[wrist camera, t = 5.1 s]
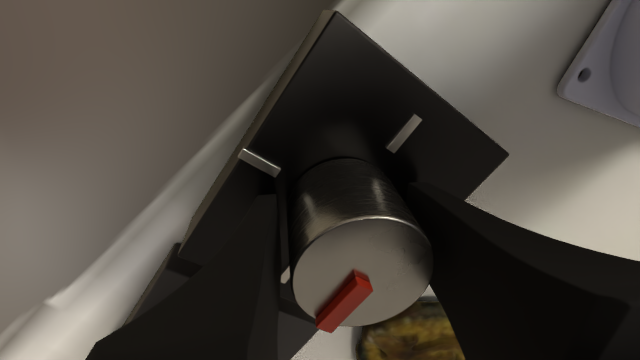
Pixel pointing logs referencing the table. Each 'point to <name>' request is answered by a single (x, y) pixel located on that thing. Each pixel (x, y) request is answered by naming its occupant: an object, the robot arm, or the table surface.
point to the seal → (411, 336)
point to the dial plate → (340, 135)
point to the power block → (176, 271)
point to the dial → (354, 246)
